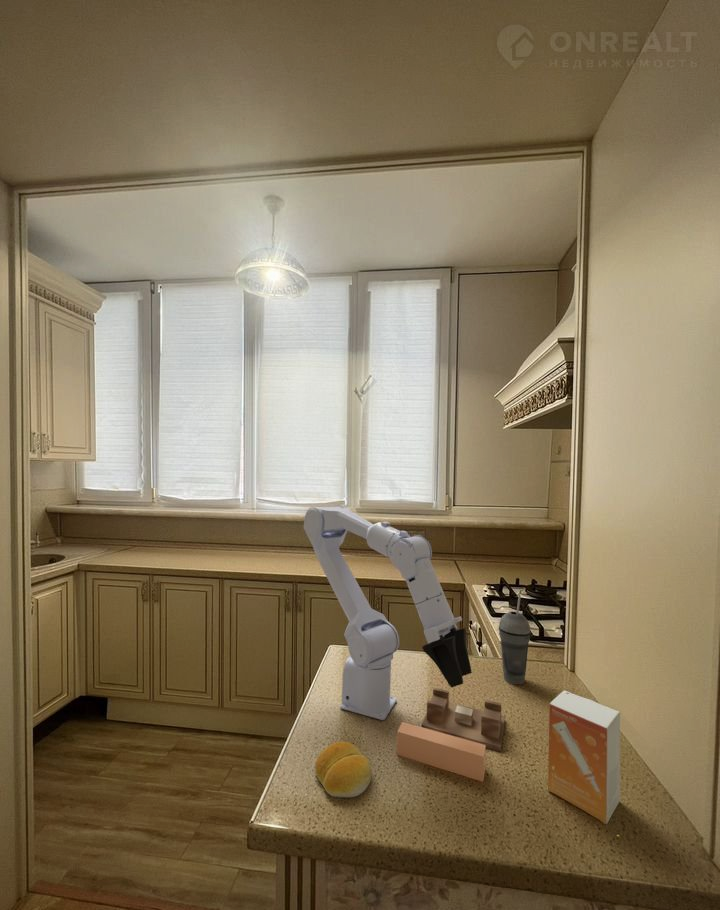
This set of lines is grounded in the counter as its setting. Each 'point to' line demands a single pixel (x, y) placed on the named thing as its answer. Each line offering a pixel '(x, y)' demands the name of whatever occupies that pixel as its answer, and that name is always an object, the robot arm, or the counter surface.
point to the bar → (442, 750)
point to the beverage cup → (514, 645)
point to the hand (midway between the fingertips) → (461, 679)
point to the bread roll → (343, 770)
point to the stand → (465, 720)
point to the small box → (584, 754)
